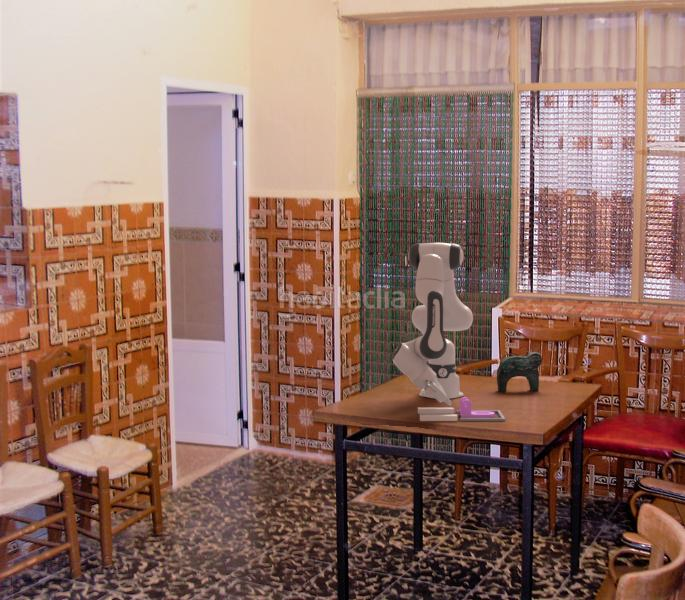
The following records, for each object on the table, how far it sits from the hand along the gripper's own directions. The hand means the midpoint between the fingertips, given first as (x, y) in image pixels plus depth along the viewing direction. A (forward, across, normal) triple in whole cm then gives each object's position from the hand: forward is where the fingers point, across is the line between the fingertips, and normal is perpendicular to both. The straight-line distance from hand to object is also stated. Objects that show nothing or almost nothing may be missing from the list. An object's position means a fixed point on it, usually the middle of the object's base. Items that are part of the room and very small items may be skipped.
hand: (450, 404), depth 376 cm
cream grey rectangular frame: (+6, 0, +1) cm, 6 cm away
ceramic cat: (+29, +52, -21) cm, 63 cm away
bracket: (+11, +2, -4) cm, 12 cm away
